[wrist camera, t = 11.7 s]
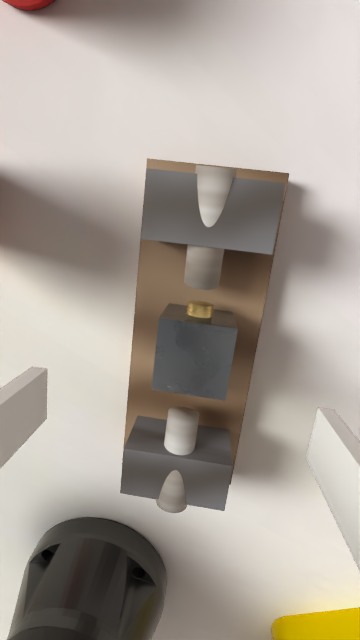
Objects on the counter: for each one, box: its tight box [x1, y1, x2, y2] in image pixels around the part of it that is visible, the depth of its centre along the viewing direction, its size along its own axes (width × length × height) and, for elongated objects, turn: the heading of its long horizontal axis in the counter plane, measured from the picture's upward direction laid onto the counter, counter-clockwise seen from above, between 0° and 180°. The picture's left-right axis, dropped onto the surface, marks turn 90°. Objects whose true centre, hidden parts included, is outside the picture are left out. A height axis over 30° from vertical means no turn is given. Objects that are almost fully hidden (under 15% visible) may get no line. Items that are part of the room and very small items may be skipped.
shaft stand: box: [120, 159, 289, 513], centre depth 23 cm, size 26×10×7 cm, turn 173°
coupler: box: [152, 301, 238, 401], centre depth 22 cm, size 7×5×5 cm
